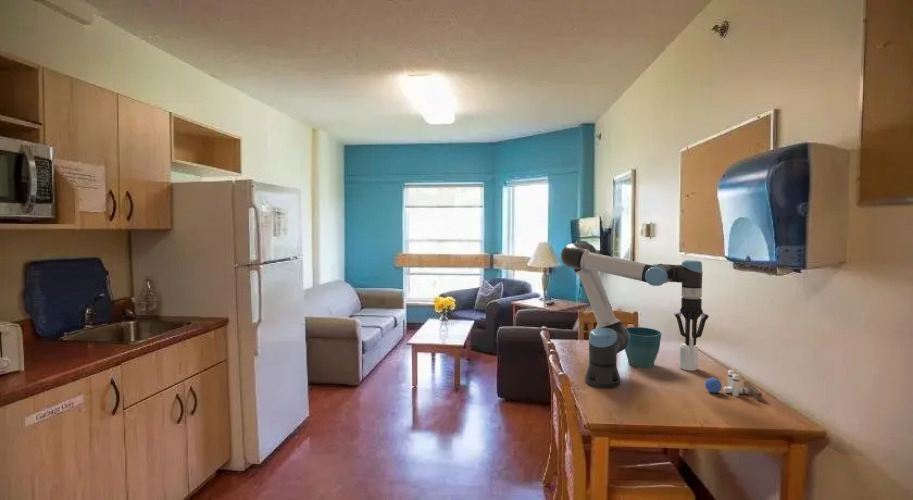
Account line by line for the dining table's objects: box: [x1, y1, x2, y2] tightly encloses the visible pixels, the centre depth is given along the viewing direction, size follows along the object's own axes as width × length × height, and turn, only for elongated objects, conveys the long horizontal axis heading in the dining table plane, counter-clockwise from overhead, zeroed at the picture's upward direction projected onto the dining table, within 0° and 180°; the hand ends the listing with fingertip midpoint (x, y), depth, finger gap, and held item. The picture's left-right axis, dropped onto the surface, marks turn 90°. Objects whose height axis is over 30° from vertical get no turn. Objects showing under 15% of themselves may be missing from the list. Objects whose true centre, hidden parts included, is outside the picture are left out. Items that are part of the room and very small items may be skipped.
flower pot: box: [624, 326, 663, 369], centre depth 222 cm, size 18×18×17 cm
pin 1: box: [727, 369, 736, 387], centre depth 187 cm, size 2×2×8 cm
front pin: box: [723, 386, 750, 395], centre depth 184 cm, size 2×2×8 cm
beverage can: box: [678, 341, 699, 372], centre depth 215 cm, size 8×8×12 cm
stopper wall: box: [742, 380, 763, 402], centre depth 183 cm, size 2×14×3 cm, turn 166°
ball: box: [704, 377, 723, 394], centre depth 185 cm, size 6×6×6 cm
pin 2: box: [731, 373, 740, 398], centre depth 182 cm, size 2×2×8 cm
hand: (690, 353), depth 187 cm, fingers closed
